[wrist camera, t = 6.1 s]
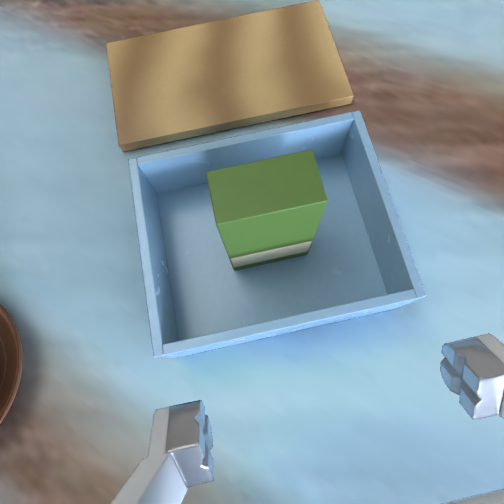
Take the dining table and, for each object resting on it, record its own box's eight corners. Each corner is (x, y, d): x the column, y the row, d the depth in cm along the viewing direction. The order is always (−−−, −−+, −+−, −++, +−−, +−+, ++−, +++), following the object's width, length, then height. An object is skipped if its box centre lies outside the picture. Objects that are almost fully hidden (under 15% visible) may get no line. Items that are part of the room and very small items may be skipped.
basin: (344, 152, 30) (360, 109, 25) (396, 308, 26) (427, 296, 21) (151, 193, 30) (127, 158, 24) (175, 357, 26) (153, 357, 21)
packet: (297, 217, 28) (312, 147, 18) (308, 255, 27) (329, 201, 18) (225, 233, 27) (205, 169, 18) (233, 272, 27) (216, 226, 17)
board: (317, 9, 34) (319, -1, 33) (351, 104, 31) (354, 95, 30) (110, 51, 34) (105, 42, 33) (123, 152, 31) (118, 145, 30)
